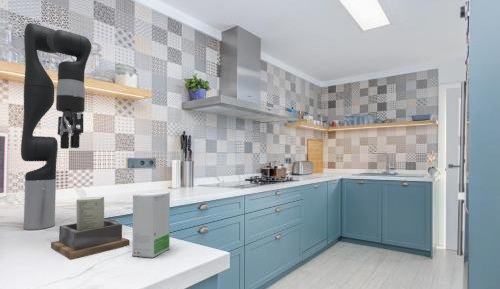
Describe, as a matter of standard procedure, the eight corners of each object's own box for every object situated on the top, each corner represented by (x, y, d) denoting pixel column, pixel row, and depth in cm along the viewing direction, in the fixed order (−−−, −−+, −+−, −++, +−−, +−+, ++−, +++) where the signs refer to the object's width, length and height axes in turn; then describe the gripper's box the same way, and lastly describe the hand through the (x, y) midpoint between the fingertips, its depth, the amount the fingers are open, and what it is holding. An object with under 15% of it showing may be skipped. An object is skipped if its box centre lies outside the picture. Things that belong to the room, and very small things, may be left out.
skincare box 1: (104, 238, 84) (105, 196, 85) (100, 242, 80) (101, 198, 80) (80, 239, 83) (81, 197, 83) (75, 244, 79) (76, 199, 79)
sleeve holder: (50, 247, 80) (51, 226, 81) (105, 236, 92) (106, 217, 92) (70, 259, 71) (71, 234, 71) (129, 245, 82) (129, 224, 83)
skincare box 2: (152, 258, 71) (153, 195, 72) (129, 256, 73) (130, 194, 74) (170, 248, 79) (171, 191, 80) (149, 246, 81) (150, 191, 82)
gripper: (49, 97, 91) (47, 148, 90) (65, 90, 82) (64, 147, 81) (75, 101, 97) (74, 149, 96) (93, 95, 88) (92, 148, 87)
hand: (69, 148), depth 89 cm, fingers open, 8 cm apart
